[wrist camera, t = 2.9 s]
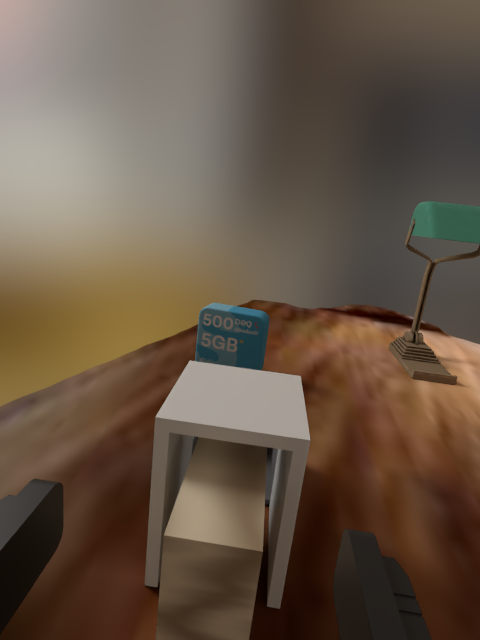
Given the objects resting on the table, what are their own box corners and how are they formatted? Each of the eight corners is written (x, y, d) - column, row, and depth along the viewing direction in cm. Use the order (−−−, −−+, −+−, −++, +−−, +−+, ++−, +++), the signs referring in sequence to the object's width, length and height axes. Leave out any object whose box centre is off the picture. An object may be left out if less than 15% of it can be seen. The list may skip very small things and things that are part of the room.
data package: (193, 368, 73) (199, 305, 70) (202, 361, 77) (208, 301, 74) (256, 382, 70) (265, 317, 67) (262, 373, 74) (270, 312, 71)
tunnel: (144, 585, 31) (155, 417, 27) (178, 490, 41) (189, 360, 37) (279, 608, 30) (310, 440, 26) (279, 506, 41) (300, 376, 37)
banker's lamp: (438, 355, 98) (475, 210, 89) (477, 390, 78) (530, 208, 69) (373, 346, 100) (404, 202, 91) (396, 378, 80) (438, 198, 71)
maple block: (152, 679, 25) (163, 535, 22) (192, 531, 36) (202, 425, 33) (240, 695, 24) (262, 551, 21) (251, 541, 36) (267, 434, 33)
